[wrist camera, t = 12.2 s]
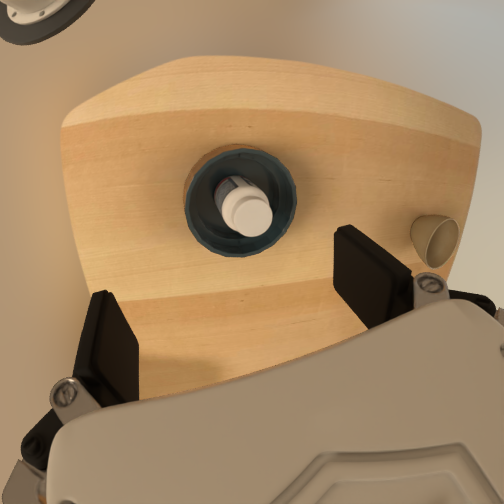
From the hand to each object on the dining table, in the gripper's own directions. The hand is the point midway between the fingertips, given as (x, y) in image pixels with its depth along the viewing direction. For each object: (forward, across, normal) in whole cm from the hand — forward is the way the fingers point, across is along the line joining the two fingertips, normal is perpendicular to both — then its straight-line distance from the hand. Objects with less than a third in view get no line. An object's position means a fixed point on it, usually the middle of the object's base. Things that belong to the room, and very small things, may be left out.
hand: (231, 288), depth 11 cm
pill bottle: (+25, -5, +5) cm, 26 cm away
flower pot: (+25, -39, +18) cm, 50 cm away
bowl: (+26, -5, +5) cm, 27 cm away
